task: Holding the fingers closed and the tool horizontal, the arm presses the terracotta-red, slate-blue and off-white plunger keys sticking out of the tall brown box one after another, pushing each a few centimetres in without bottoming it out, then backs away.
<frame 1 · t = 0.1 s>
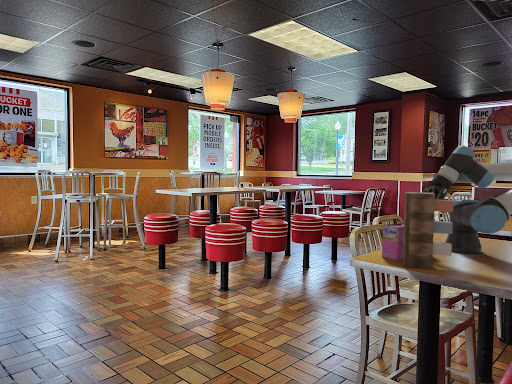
hand: (414, 219, 160), 15 cm above the table, tool tilted 35°, fingers open, 13 cm apart
red key: (439, 205, 141), point 23 cm above the table, slide at 0.0 cm
brown tall box: (430, 266, 142), on the table
white key: (437, 248, 141), point 7 cm above the table, slide at 0.0 cm
gum box: (406, 256, 161), on the table
blue key: (438, 227, 141), point 15 cm above the table, slide at 0.0 cm
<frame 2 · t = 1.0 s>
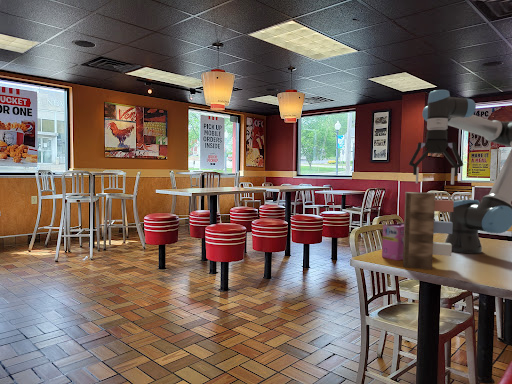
hand: (434, 183, 153), 31 cm above the table, tool pointing down, fingers open, 12 cm apart
nothing on the table moved.
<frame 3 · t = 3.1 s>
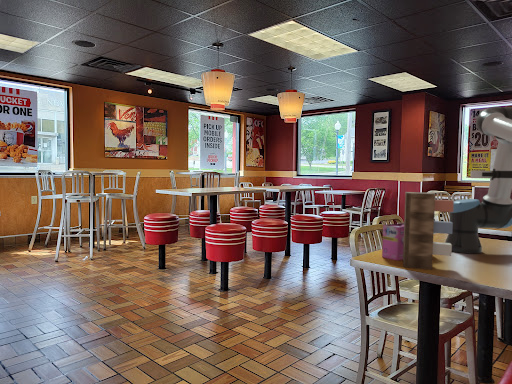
hand: (471, 174, 137), 35 cm above the table, tool horizontal, fingers closed
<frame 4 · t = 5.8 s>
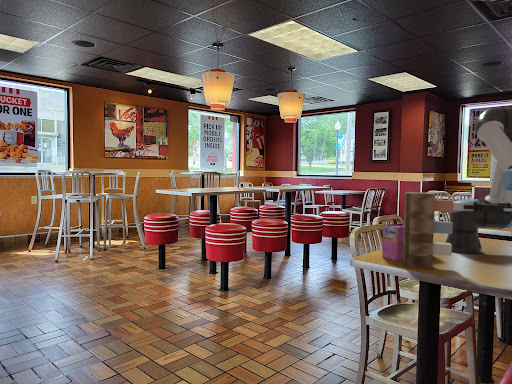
hand: (452, 206, 139), 23 cm above the table, tool horizontal, fingers closed
red key: (438, 205, 141), point 23 cm above the table, slide at 0.2 cm, touching gripper
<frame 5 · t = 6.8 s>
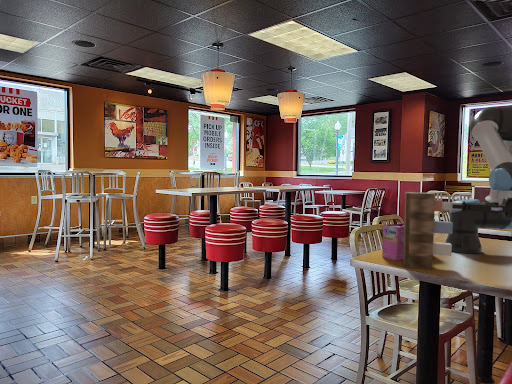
hand: (442, 205, 140), 23 cm above the table, tool horizontal, fingers closed
red key: (427, 204, 142), point 23 cm above the table, slide at 3.8 cm, touching gripper
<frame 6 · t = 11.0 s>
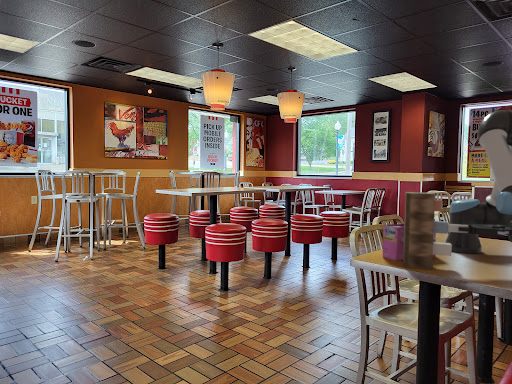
hand: (447, 227, 140), 15 cm above the table, tool horizontal, fingers closed
red key: (427, 204, 142), point 23 cm above the table, slide at 3.8 cm
blue key: (433, 226, 141), point 15 cm above the table, slide at 1.6 cm, touching gripper
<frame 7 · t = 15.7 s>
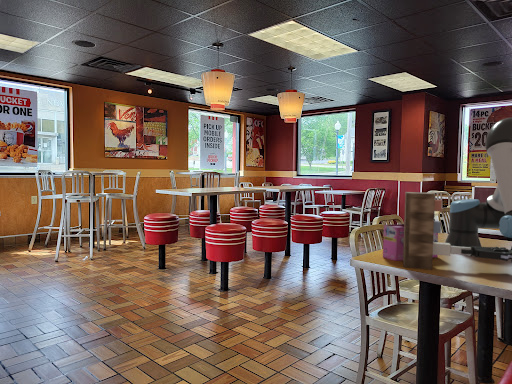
hand: (450, 249, 139), 7 cm above the table, tool horizontal, fingers closed
white key: (436, 248, 141), point 7 cm above the table, slide at 0.3 cm, touching gripper
blue key: (426, 226, 142), point 15 cm above the table, slide at 3.8 cm
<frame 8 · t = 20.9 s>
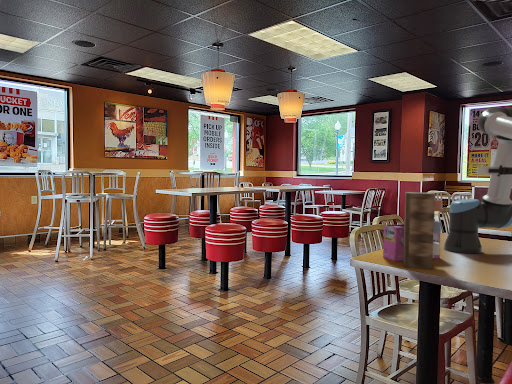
hand: (477, 170, 136), 36 cm above the table, tool horizontal, fingers closed
white key: (425, 247, 143), point 7 cm above the table, slide at 3.8 cm
at the end: red key slide at 3.8 cm; blue key slide at 3.8 cm; white key slide at 3.8 cm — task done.
